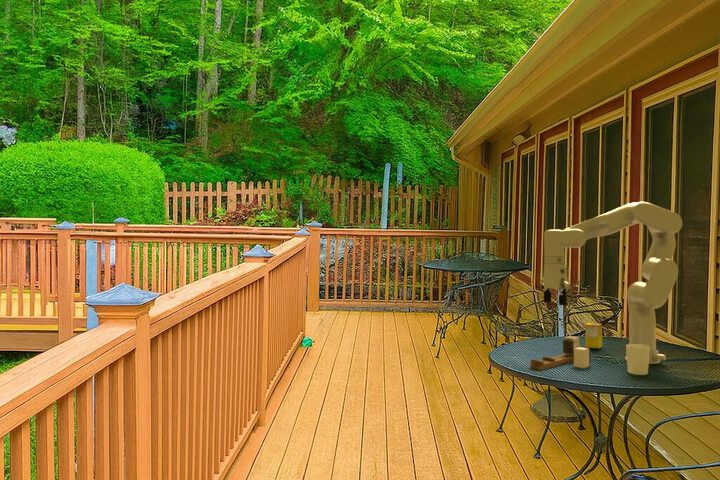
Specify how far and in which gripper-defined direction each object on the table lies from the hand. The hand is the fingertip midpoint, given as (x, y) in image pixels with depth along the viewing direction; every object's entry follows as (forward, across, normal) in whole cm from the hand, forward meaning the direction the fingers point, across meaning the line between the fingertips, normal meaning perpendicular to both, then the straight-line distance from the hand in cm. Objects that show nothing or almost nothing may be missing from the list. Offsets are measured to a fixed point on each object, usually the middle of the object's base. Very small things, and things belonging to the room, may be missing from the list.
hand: (554, 303), depth 235 cm
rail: (+24, -2, 0) cm, 24 cm away
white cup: (+24, -25, -17) cm, 39 cm away
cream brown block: (+24, -9, -5) cm, 26 cm away
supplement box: (+24, +17, -32) cm, 44 cm away
